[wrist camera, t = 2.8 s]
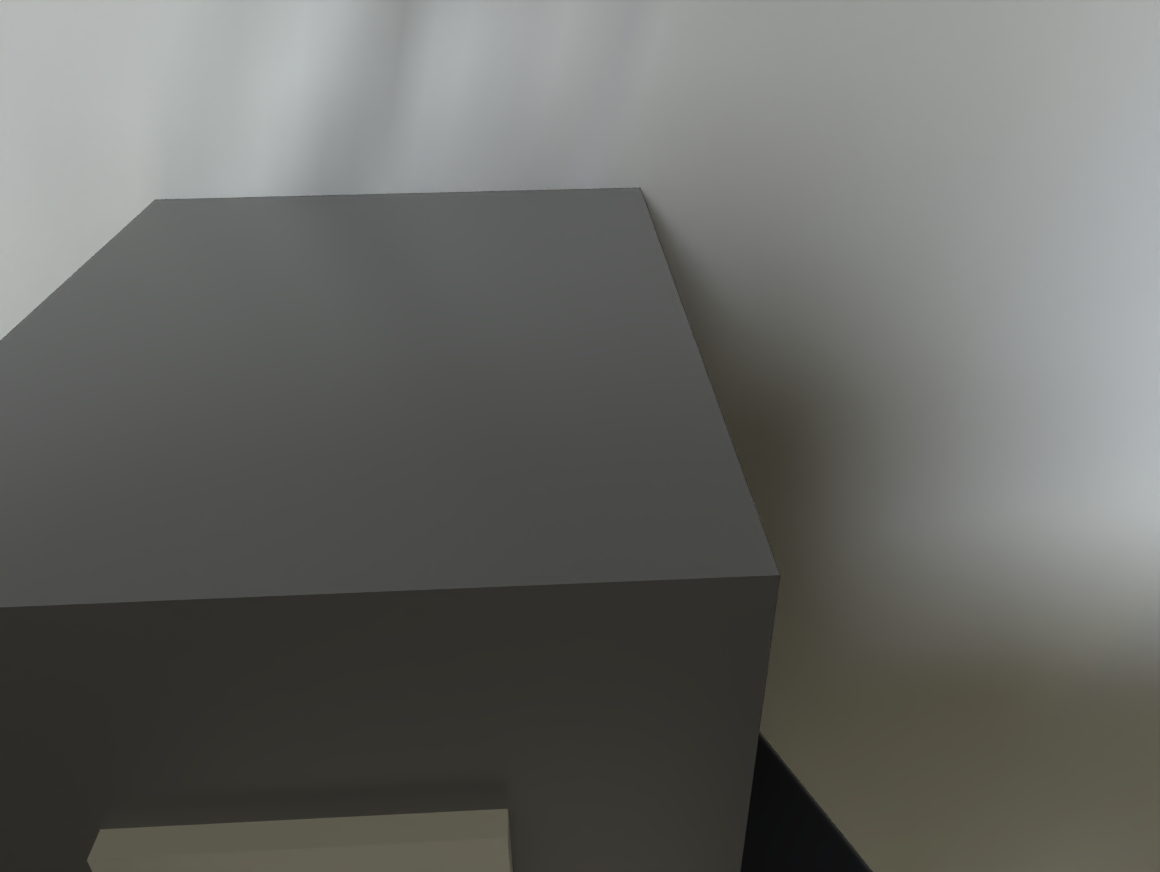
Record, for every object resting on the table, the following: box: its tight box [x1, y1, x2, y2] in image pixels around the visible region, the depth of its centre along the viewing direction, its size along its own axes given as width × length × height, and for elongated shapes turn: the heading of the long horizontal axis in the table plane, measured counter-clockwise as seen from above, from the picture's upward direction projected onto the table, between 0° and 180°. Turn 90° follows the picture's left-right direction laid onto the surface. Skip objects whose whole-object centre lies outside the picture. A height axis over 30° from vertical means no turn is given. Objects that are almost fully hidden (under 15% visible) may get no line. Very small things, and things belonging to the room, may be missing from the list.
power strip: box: [0, 188, 780, 872], centre depth 8 cm, size 4×9×5 cm, turn 1°
